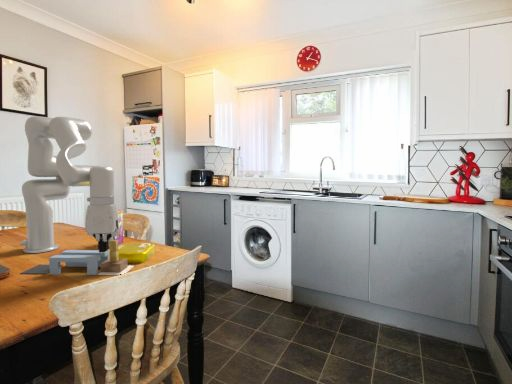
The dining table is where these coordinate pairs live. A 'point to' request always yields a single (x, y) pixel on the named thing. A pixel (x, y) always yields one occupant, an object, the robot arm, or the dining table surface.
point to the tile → (117, 272)
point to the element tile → (136, 252)
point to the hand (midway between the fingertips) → (103, 251)
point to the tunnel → (78, 260)
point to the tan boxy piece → (114, 260)
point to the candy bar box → (120, 231)
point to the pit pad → (38, 270)
